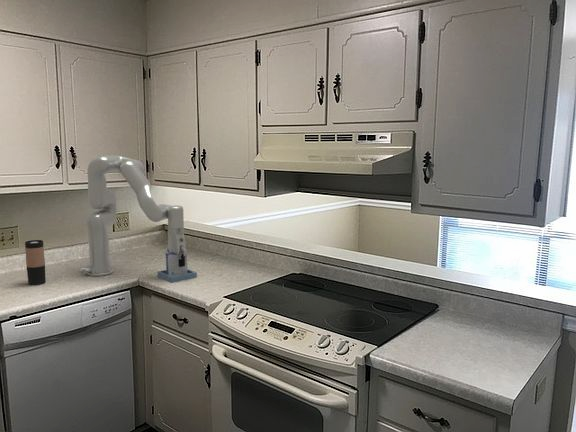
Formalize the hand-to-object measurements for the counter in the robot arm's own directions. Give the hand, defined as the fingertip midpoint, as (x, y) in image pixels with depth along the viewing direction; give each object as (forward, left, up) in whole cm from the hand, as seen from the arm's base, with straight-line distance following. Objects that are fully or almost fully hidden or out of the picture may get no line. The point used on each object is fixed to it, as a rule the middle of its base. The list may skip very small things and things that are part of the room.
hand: (176, 264), depth 232 cm
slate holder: (0, 0, -6) cm, 6 cm away
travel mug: (-55, +33, -6) cm, 64 cm away
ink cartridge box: (0, 0, -7) cm, 7 cm away
